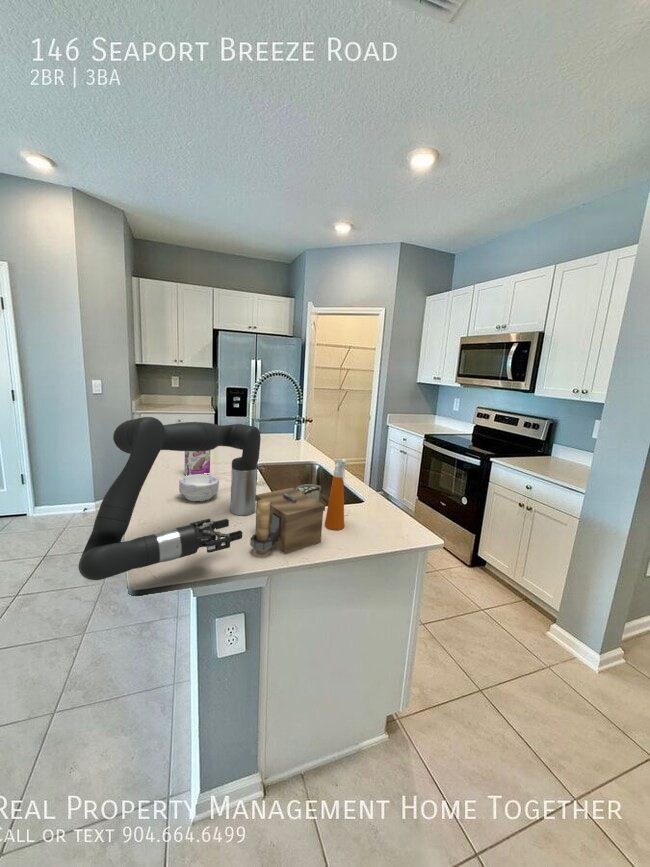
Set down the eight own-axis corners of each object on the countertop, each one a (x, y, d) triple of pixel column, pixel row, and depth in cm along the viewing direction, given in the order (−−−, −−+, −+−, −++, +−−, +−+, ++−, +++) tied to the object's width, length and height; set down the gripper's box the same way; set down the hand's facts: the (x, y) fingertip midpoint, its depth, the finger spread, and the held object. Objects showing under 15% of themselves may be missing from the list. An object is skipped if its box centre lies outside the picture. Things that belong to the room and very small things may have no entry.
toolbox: (253, 530, 120) (255, 491, 118) (290, 520, 130) (292, 484, 127) (284, 555, 106) (286, 511, 104) (322, 542, 116) (325, 501, 113)
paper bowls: (226, 496, 149) (226, 478, 147) (198, 507, 135) (198, 488, 134) (200, 488, 155) (200, 471, 154) (170, 498, 142) (170, 479, 141)
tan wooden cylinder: (253, 550, 107) (255, 501, 104) (264, 547, 110) (266, 498, 107) (259, 556, 105) (261, 505, 102) (270, 552, 107) (272, 502, 104)
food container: (308, 504, 146) (309, 481, 144) (319, 509, 142) (321, 485, 140) (287, 513, 136) (288, 488, 134) (298, 518, 133) (300, 492, 131)
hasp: (247, 542, 107) (247, 517, 106) (271, 535, 112) (272, 511, 111) (257, 551, 102) (258, 526, 101) (282, 544, 108) (283, 519, 106)
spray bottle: (330, 536, 120) (336, 461, 115) (322, 522, 130) (327, 452, 126) (350, 534, 122) (356, 461, 117) (340, 521, 132) (346, 453, 128)
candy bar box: (187, 477, 168) (187, 444, 165) (184, 474, 172) (184, 441, 169) (210, 474, 175) (211, 442, 172) (206, 471, 179) (207, 440, 176)
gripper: (184, 541, 83) (247, 525, 94) (166, 519, 94) (224, 506, 104) (184, 570, 85) (246, 551, 95) (166, 545, 95) (223, 530, 106)
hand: (234, 528), depth 100 cm, fingers open, 8 cm apart
